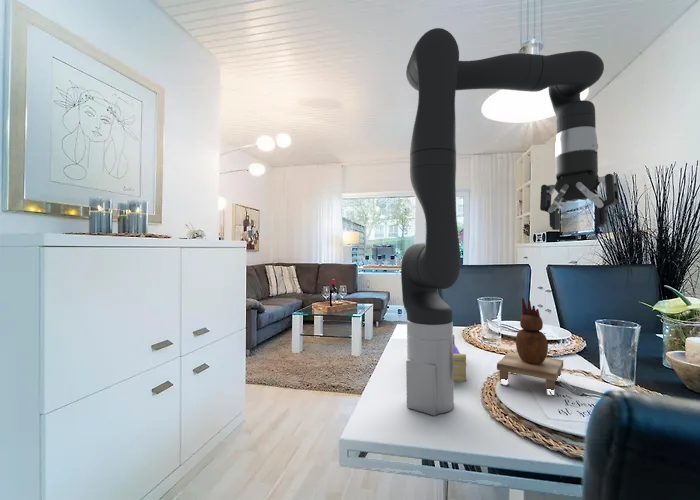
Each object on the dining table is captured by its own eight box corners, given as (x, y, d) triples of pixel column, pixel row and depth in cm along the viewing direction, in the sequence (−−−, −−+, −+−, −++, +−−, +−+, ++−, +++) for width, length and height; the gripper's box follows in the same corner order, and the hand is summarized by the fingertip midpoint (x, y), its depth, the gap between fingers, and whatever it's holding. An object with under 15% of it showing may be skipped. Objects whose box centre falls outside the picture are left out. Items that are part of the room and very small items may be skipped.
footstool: (556, 397, 73) (555, 374, 73) (497, 384, 81) (496, 363, 81) (563, 380, 83) (563, 360, 83) (510, 370, 90) (509, 351, 90)
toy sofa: (467, 383, 82) (466, 340, 82) (430, 381, 84) (430, 339, 84) (454, 357, 103) (454, 323, 103) (425, 356, 104) (424, 322, 104)
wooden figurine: (511, 359, 84) (510, 297, 84) (529, 356, 86) (528, 296, 86) (533, 367, 77) (532, 301, 78) (553, 364, 79) (552, 299, 79)
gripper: (533, 158, 77) (534, 230, 77) (607, 140, 66) (609, 225, 65) (550, 163, 82) (551, 231, 81) (623, 147, 70) (624, 226, 70)
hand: (577, 228), depth 73 cm, fingers open, 8 cm apart
